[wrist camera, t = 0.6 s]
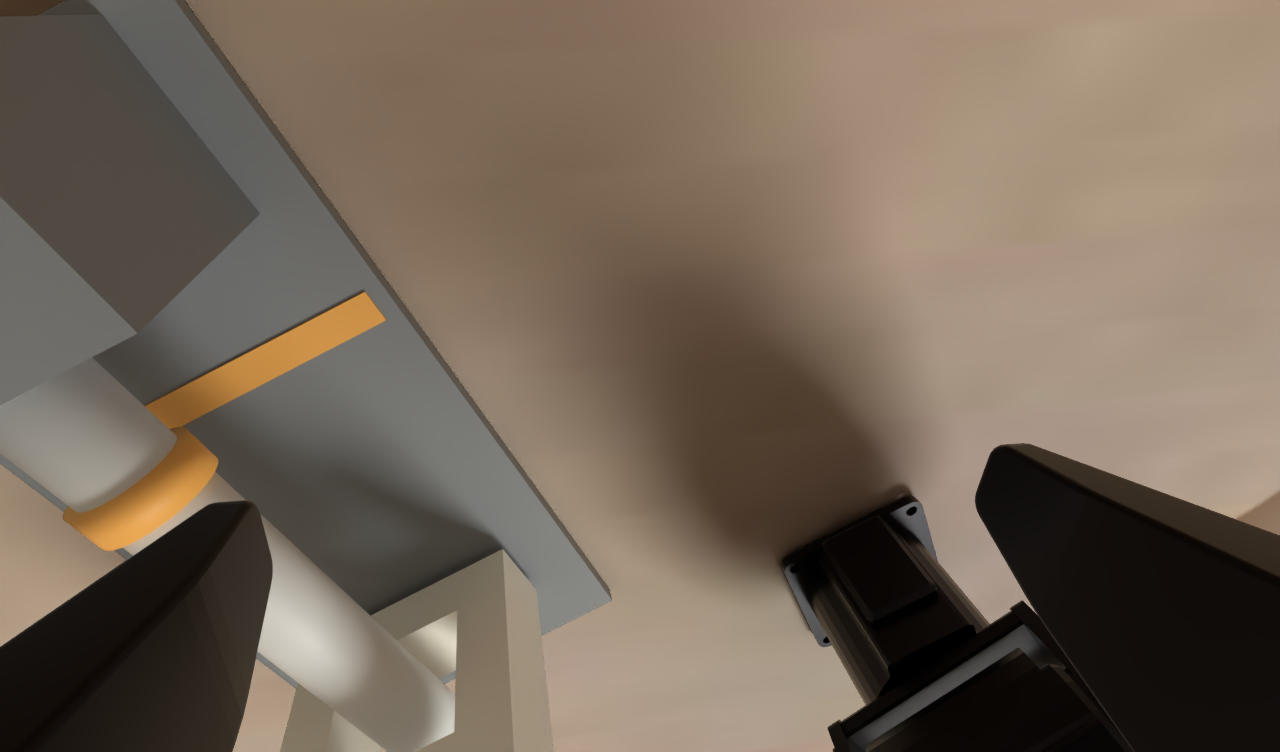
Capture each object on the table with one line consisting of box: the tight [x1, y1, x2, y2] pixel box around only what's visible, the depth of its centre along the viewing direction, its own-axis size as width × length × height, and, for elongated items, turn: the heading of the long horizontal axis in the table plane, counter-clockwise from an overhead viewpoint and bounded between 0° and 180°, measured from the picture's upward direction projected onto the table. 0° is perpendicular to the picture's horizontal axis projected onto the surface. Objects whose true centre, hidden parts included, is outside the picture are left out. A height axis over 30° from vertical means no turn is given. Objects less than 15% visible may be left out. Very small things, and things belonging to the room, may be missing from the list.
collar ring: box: [280, 549, 554, 752], centre depth 21 cm, size 2×8×8 cm, turn 114°
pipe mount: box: [0, 0, 612, 752], centre depth 18 cm, size 24×12×8 cm, turn 24°
